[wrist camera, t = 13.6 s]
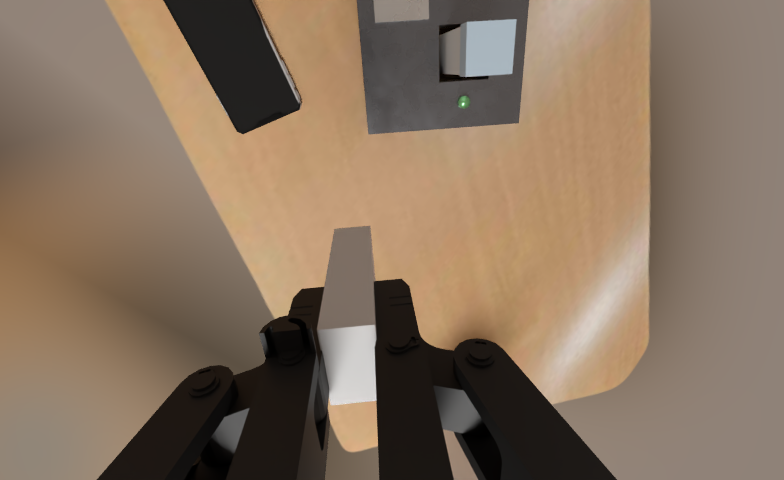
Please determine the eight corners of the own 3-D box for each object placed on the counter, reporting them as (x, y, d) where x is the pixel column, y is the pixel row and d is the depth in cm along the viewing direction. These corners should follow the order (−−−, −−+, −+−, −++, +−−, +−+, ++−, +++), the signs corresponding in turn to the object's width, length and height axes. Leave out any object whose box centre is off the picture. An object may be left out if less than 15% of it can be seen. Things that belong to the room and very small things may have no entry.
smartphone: (228, -53, 34) (304, 107, 40) (233, -49, 35) (305, 106, 41) (152, -16, 34) (238, 136, 41) (159, -13, 36) (241, 134, 42)
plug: (437, 34, 38) (466, 21, 28) (473, 32, 39) (516, 18, 28) (437, 74, 40) (465, 77, 29) (471, 72, 40) (512, 73, 29)
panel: (355, -19, 36) (354, -30, 32) (515, -29, 37) (534, -40, 33) (367, 128, 42) (368, 134, 38) (505, 118, 43) (520, 123, 39)
